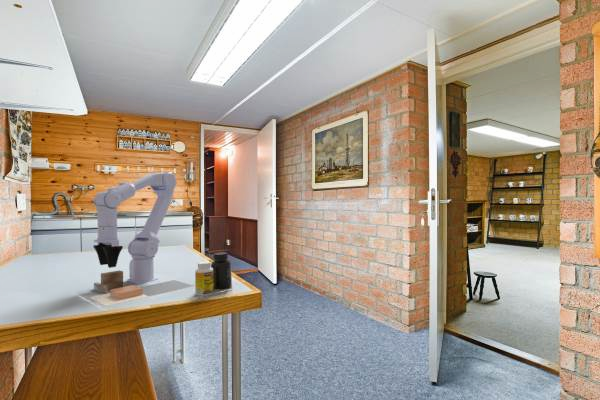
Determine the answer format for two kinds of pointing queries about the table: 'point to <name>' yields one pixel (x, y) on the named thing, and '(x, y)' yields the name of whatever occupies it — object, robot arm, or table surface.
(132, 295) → the terracotta tile
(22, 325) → the table surface
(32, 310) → the table surface
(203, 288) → the supplement bottle
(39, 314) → the table surface
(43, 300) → the table surface
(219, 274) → the supplement bottle
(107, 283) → the pusher
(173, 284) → the board
